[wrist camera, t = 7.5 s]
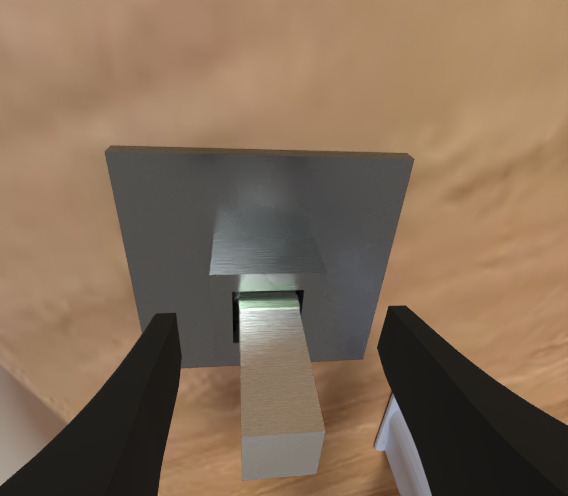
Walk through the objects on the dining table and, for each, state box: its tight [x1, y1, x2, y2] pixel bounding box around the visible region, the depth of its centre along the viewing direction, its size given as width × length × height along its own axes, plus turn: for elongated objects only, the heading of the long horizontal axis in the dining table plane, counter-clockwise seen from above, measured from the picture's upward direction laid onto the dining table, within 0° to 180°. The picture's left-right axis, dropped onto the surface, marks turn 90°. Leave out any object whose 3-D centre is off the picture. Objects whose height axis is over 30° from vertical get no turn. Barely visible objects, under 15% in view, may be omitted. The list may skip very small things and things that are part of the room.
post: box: [239, 291, 326, 481], centre depth 17 cm, size 3×3×8 cm
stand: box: [105, 146, 414, 368], centre depth 22 cm, size 16×16×4 cm
